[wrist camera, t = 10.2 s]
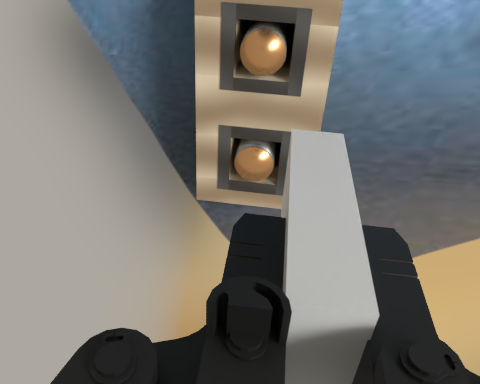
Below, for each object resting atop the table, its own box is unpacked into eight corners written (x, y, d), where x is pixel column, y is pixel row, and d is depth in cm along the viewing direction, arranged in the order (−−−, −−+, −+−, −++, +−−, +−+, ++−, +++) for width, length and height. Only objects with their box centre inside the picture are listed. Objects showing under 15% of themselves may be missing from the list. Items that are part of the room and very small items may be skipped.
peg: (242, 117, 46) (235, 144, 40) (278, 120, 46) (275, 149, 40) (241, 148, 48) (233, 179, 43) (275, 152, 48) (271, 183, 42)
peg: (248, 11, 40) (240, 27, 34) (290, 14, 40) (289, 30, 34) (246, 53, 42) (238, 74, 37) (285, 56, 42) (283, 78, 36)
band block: (209, -34, 39) (194, -25, 33) (338, -25, 38) (345, -14, 32) (208, 167, 51) (196, 200, 45) (305, 177, 50) (306, 212, 45)
